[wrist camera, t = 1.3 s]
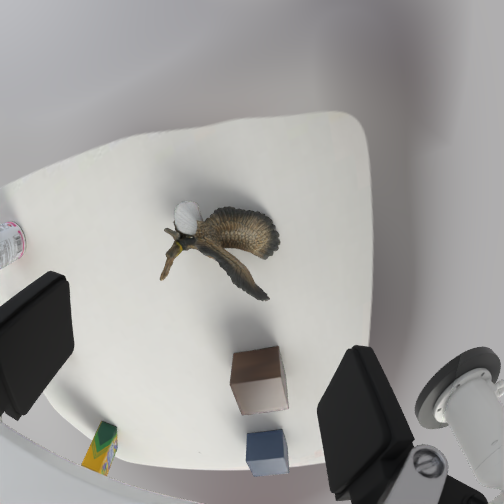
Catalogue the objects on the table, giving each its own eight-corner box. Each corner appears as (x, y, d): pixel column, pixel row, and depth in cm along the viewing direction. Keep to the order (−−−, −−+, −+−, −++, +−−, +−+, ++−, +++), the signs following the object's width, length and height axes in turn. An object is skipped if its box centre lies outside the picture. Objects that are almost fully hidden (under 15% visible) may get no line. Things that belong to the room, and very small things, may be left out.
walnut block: (278, 345, 31) (281, 376, 26) (286, 378, 32) (289, 409, 28) (233, 352, 31) (229, 384, 27) (243, 384, 33) (241, 415, 28)
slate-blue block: (282, 428, 36) (284, 457, 31) (287, 446, 37) (289, 473, 32) (246, 433, 36) (245, 461, 31) (254, 450, 38) (253, 476, 33)
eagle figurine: (175, 287, 28) (269, 309, 26) (142, 272, 21) (264, 300, 19) (196, 213, 29) (286, 228, 28) (171, 178, 23) (286, 194, 21)
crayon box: (118, 447, 40) (99, 497, 29) (103, 441, 39) (82, 490, 28) (118, 427, 37) (94, 482, 26) (101, 420, 37) (75, 474, 26)
